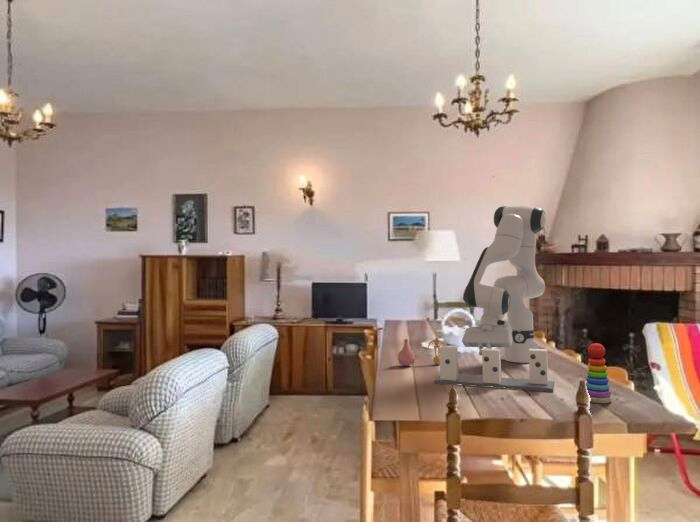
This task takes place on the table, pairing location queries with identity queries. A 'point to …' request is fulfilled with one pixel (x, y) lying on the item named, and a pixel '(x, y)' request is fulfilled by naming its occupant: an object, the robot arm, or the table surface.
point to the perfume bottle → (406, 355)
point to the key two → (491, 365)
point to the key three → (538, 366)
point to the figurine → (436, 358)
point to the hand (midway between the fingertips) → (482, 354)
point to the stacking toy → (597, 375)
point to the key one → (448, 363)
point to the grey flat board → (505, 383)
